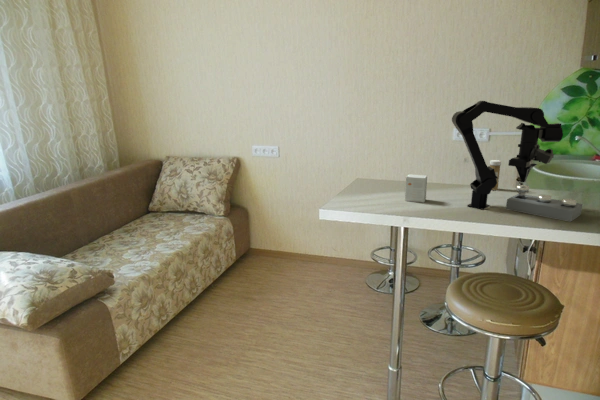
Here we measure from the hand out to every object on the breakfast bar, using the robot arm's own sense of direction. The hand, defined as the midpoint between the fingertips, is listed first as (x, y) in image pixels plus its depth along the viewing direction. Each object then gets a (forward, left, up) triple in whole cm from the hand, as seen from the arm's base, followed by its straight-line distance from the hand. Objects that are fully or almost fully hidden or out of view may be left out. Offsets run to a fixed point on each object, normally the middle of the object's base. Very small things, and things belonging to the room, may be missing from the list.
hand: (523, 182), depth 157 cm
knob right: (0, -16, -9) cm, 18 cm away
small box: (-19, +35, -11) cm, 41 cm away
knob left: (0, 0, -7) cm, 7 cm away
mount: (0, -8, -10) cm, 13 cm away
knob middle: (0, -8, -9) cm, 12 cm away
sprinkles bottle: (+22, +20, -11) cm, 32 cm away
